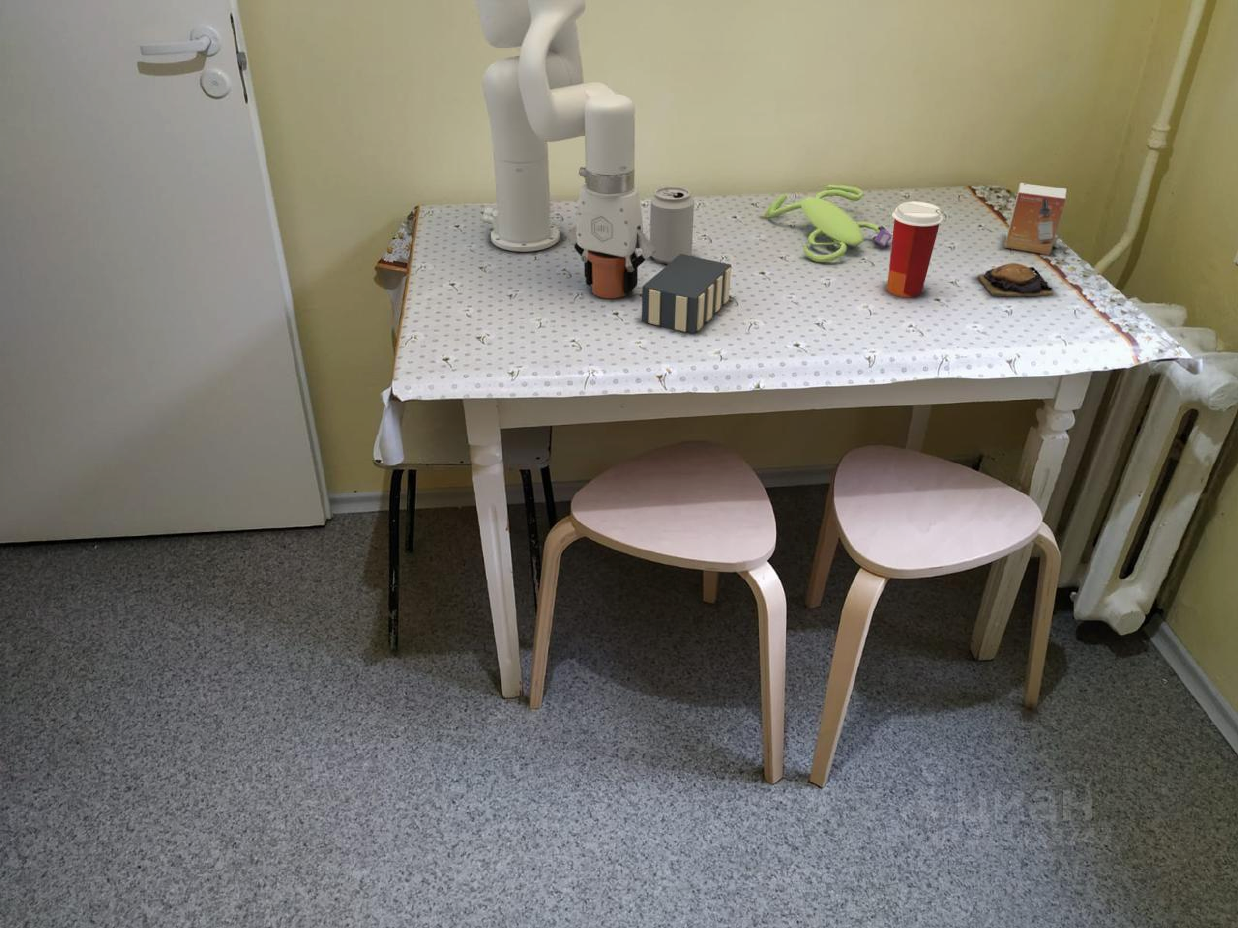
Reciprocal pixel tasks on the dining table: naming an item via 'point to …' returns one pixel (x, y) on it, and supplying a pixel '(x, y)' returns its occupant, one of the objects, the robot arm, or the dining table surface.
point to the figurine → (830, 221)
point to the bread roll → (1015, 281)
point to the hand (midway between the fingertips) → (610, 285)
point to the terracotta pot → (607, 274)
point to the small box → (1035, 218)
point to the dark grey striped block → (686, 293)
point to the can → (671, 223)
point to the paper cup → (912, 247)
